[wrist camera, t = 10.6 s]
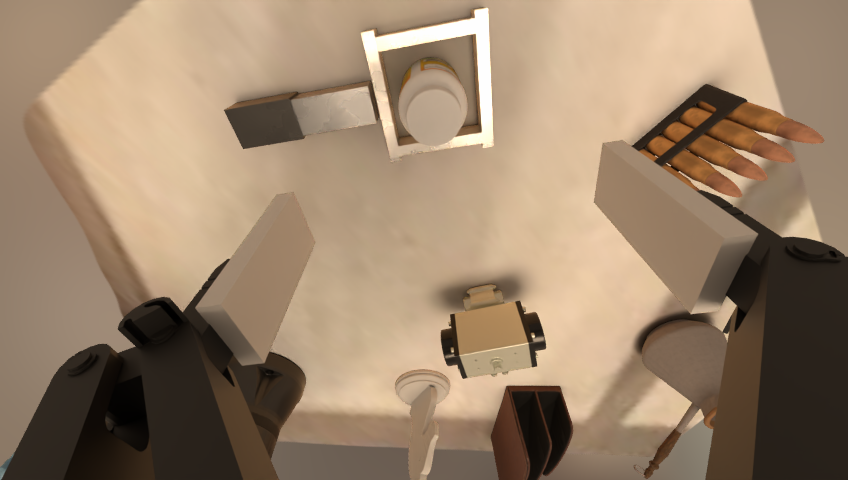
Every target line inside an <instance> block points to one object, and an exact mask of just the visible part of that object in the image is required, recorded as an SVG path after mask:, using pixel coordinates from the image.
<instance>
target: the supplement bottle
mask: <svg viewBox="0 0 848 480" xmlns="http://www.w3.org/2000/svg"><path fill="white" fill-rule="evenodd" d="M467 110H468V103H467V97H466V93H465V90H464V88H463V86H462V84H461V82H460V80H459V78H458V76H457V74H456V72H455V71H454V69H453V68H452V67H451V66H450V65H449V64H448V63H446V62H445V61H443V60H441V59H438V58H424V59H421V60H419V61H417V62H415V63H414V64H413V65H411V67H410V68H409V69H408V70H407V72H406V74H405V76H404V78H403V81H402V86H401V91H400V96H399V102H398V111H399V116H400V120H401V122H402V124H403V126H404V128H405V129H406V130H407V131H408V132H409V133H410V134H411V135H412V137H413V138H414V139H415V140H416V141H418V142H419V143H421V144H423V145H426V146H433V147H436V146H441V145H444V144H446V143H448V142H450V141H451V140H452V139H453V138H454V137H455V136H456V135H457V133H458V132H459V130H460V128H461V127H462V125H463V123H464V121H465V119H466V116H467Z"/></svg>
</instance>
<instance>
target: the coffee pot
mask: <svg viewBox="0 0 848 480" xmlns="http://www.w3.org/2000/svg"><path fill="white" fill-rule="evenodd" d="M726 349H727V340H726V338H725V335H724V333H723V332H721V331H720V330H719V329H718V328H716V327H714V326H712V325H710V324H707V323H704V322H699V321H690V320H674V321H670V322H667V323H665V324H662V325H660V326H658V327H657V328H655V329H654V330H653V331H651V332H650V333H649V335H648V336H647V338H646V341H645V343H644V346H643V348H642V361H643V364H644V365H645V366H646V368H647V369H648V370H650V371H651V372H652V373H654V374H655V375H656V376H658V377H659V378H660V379H662V380H663V381H664V382H666V383H667V384H668V385H670V386H671V387H672V388H674V389H675V390H676V391H678V392H679V393H680V394H682V395H683V396H684V397H686V398H687V399H688V400H690V401H691V402H692V404H691V406H690V407H689V409H688V410H687V412H686V413H685V415H684V416H683V418H682V419H681V421H680V422H679V424H678V425H677V427H676V429H674V430H673V431H672V432H671V434H670V435H669V436H668V437H667V438H666V440H665V441H664V442H663V443H662V445H661V446H660V447H659V448H658V450H657V453H656V455H655V457H654V459H653V461H649V464H650V466H649V467H648V468H647V469H646V470H644V469H643V468H641V467H639V466H637V465H634V469H635V470H636V471H637V472H638V473H639V474H641V475H642V476H644V477H645V478H646V479H648V478H649V477H650V476H651V475H652V474H653V471H654V470H655V469H658V468H659V466H658V465H659V464H660V463H661V462H662V461H663V460H664V459H665V458H666V457H667V456H668V455H669V453H670V452H671V450H672V448H673V447H674V445H675V443H676V442H677V440H678V438H679V437H680V435H681V434H682V433H681V432H682V431H683V430H684V429H685V427H686V426H687V425H688V423H689V422H690V421H691V419H692V418H693V417H694V416H695V414H696V413H697V412H698V410H699V409H701V410H702V412H703V415H704V417H705V418H704V424H705V425H706V426H707V427H708V428H711V429H714V423H715V417H716V411H717V405H718V398H719V392H720V386H721V380H722V374H723V367H724V361H725V355H726ZM635 466H637V467H639V468H641V469H642V470H643V471H644V475H643V474H642V473H640V472H639V471H638V470H637V469H636V468H635Z"/></svg>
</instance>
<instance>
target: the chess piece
mask: <svg viewBox="0 0 848 480" xmlns="http://www.w3.org/2000/svg"><path fill="white" fill-rule="evenodd" d="M395 389H396V393H397V395H398V396H399V398H400V399H401V400H402V401H403V402H405V403H407V404H409V405H411V410H410V415H411V417H412V431H411V437H410V445H409V456H408V457H409V460H408V461H409V465H408V466H409V476H410V479H411V480H427V475H428V474H429V472H430V469H431V465H432V459H433V453H434V447H435V444H436V441H437V439H438V437H439V425H438V422H436V421H433V420H432V418H433V415H434V411H435V407H436V404H438V403H440V402H442V401H443V400H444V399H445V397H446V396H447V395H448V394H449V390H450V382H449V380H448V379H447V377H446V376H444V375H443V374H441V373H439V372H436V371H432V370H414V371H410V372H407V373H405V374H403V375H402V376H400V377H399V378H398V379H397V381H396V384H395Z"/></svg>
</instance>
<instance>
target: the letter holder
mask: <svg viewBox="0 0 848 480" xmlns="http://www.w3.org/2000/svg"><path fill="white" fill-rule="evenodd" d="M572 434H573V425H572V421H571V418H570V416H569V412H568V409H567V406H566V403H565V400H564V397H563V394H562V391H561V388H560V386H507V388H506V391H505V395H504V398H503V401H502V404H501V407H500V410H499V413H498V416H497V419H496V423H495V426H494V429H493V432H492V435H491V441H492V445H493V450H494V456H495V462H496V466H497V472H498V477H499V480H539V478H540V477H541V475H542V473H543V475H545V476H548V475H549V474H550V473H551V472H552V471H553V470H554V469H555V468H556V466H557V465H558V464H559V462H560V461H561V459H562V457H563V455H564V454H565V452H566V450H567V448H568V446H569V443H570V441H571V438H572Z"/></svg>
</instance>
